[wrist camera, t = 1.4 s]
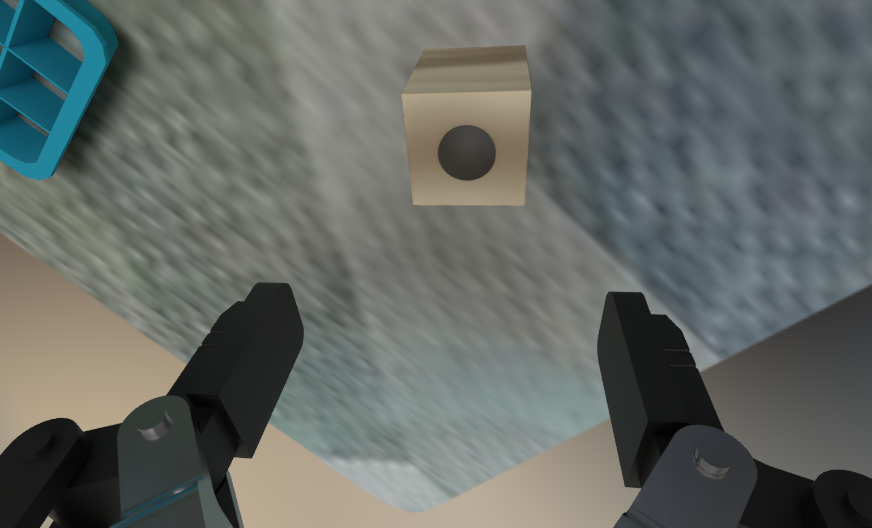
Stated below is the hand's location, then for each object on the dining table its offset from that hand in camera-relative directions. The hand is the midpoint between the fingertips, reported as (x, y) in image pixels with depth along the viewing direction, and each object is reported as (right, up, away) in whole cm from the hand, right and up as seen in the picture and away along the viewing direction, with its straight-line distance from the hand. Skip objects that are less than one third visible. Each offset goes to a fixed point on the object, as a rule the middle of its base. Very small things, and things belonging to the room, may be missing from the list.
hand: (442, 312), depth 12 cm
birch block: (+2, +10, +13) cm, 17 cm away
